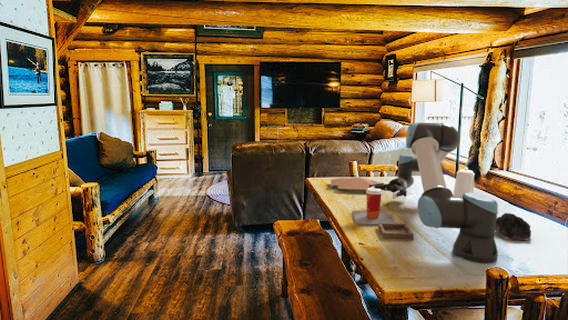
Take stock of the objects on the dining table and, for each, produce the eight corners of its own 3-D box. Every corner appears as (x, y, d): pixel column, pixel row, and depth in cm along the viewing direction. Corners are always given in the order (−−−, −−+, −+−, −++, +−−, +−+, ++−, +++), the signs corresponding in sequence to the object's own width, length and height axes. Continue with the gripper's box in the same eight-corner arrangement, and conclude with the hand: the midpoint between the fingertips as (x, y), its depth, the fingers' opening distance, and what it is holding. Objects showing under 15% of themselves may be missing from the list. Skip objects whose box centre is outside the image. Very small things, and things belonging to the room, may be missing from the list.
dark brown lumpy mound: (532, 246, 145) (538, 222, 143) (495, 237, 150) (499, 215, 149) (527, 236, 157) (531, 215, 155) (492, 229, 162) (496, 208, 161)
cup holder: (413, 240, 149) (413, 234, 148) (383, 238, 150) (383, 233, 149) (406, 229, 161) (406, 223, 160) (378, 228, 162) (378, 222, 162)
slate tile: (395, 226, 164) (395, 224, 164) (356, 225, 166) (356, 223, 165) (387, 213, 182) (387, 211, 181) (352, 212, 183) (352, 210, 183)
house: (384, 195, 215) (385, 182, 214) (330, 193, 220) (330, 180, 218) (379, 185, 238) (380, 174, 236) (330, 184, 242) (330, 172, 241)
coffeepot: (459, 205, 196) (462, 171, 192) (448, 192, 220) (450, 163, 216) (480, 206, 193) (484, 172, 190) (466, 193, 217) (469, 163, 214)
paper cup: (369, 213, 179) (370, 186, 176) (383, 216, 174) (385, 189, 172) (362, 217, 173) (363, 189, 170) (376, 220, 168) (378, 192, 166)
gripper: (419, 196, 186) (404, 205, 171) (376, 188, 202) (358, 196, 186) (420, 182, 185) (405, 190, 169) (376, 175, 201) (358, 182, 185)
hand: (380, 193), depth 178 cm, fingers open, 13 cm apart
